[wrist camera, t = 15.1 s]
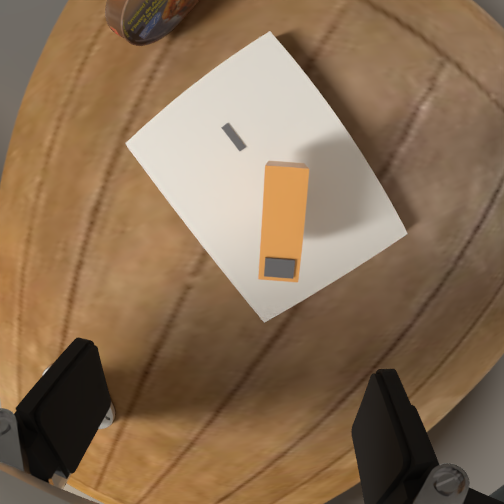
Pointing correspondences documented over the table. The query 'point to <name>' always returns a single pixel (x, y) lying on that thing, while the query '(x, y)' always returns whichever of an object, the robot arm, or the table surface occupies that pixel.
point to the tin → (145, 18)
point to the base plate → (253, 171)
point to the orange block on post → (283, 220)
